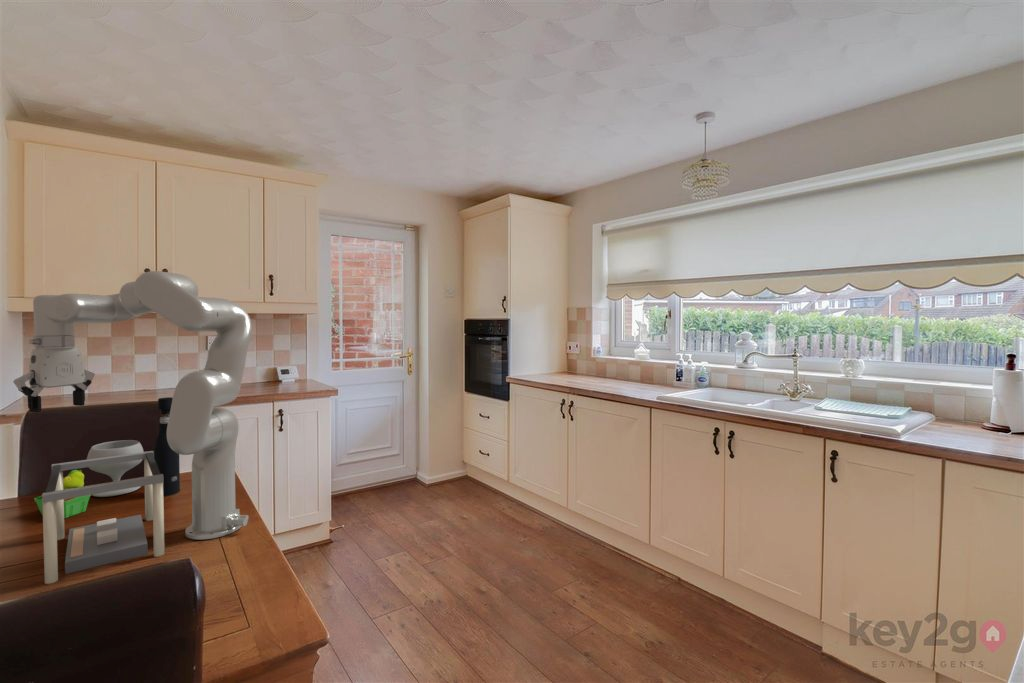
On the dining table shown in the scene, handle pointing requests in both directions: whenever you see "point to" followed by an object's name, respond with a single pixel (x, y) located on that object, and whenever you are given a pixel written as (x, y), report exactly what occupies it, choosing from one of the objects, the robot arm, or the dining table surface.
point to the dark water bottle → (166, 452)
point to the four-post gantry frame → (84, 538)
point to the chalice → (117, 468)
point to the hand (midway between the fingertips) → (58, 408)
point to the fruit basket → (71, 504)
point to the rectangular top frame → (104, 487)
